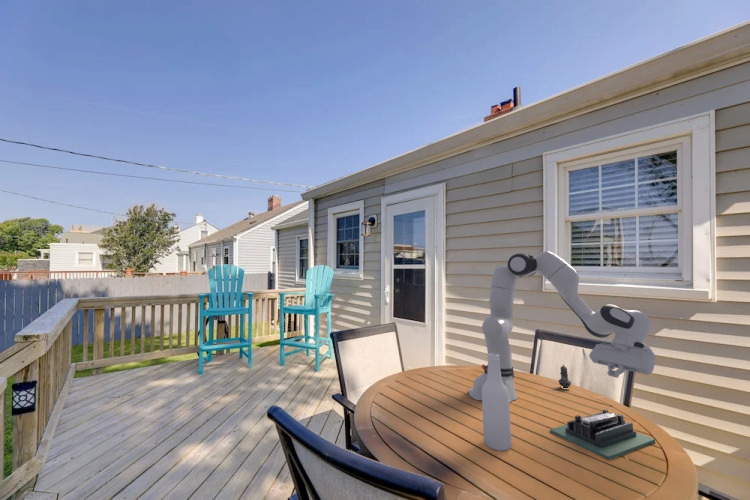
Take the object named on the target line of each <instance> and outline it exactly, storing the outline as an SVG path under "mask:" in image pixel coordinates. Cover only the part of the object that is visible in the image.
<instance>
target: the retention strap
mask: <svg viewBox="0 0 750 500" xmlns="http://www.w3.org/2000/svg"><path fill="white" fill-rule="evenodd" d="M617 415H618V414H615V413H612V412H609V411H608V413H605V414H600V415H596V416H591V417H586V416H585V417H586V418H582V417H581V418H582V419H581V421H582V422H584V423H587V424H589V425H590V421H594V422H596V423H599V422H603V421H607V420H612V419H616V418H617V419H618V416H617Z"/></svg>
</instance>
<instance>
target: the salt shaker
mask: <svg viewBox="0 0 750 500" xmlns="http://www.w3.org/2000/svg"><path fill="white" fill-rule="evenodd" d="M559 373H560V378H559V379H558V380H557V381H558V384H559V385H560V387H561V386H563V388H568V387H569V388H570V387H571V385H572V382H571V381H570V380H569V378H568V375H569V373H568V368H567V367H566V366H565V365H564V364H563V365H562V366H561V367H560V372H559Z"/></svg>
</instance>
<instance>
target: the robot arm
mask: <svg viewBox="0 0 750 500" xmlns="http://www.w3.org/2000/svg"><path fill="white" fill-rule="evenodd" d="M536 273H539V274H540V275H542V276H543V277H544V278H545V279H546V280H547V281H548V282H549V283H550V284H551V285H552V286H553V287H554V288H555V289H556V291H557V292H558V295H559V296H560V298H561V300H563V301H564V303H565V304H566V305H567V306H568V307H569V308H570V310H571V311H572V312H573V314H575V315H576V316H577V317H578V319H579V320H580V321H581V323H582V324H583V326H584V328H585V329H586V331H587V332H588V333H589V334H590V335H591V336H593V337H595V338H596V337H597V338H600V339H601V338H603V339H604V338H608V337H609V336H610V335H612V334H613V333H614V334H615V335H614V336H613V339H612V342H611V343H605V342H600V343H597V344H595V346H594V348H592V350H591V351H590V353H589V355H588V357H589V359H590V360H591V361H592V363H594V364H597V365H603V366H607V372H606V373H607V375H608V376H609V377H613V378H616V379H617V378H619V377H620V375H622V374H623V373H626V371H629V372H632V373H633V372H634V373H637V374H642V375H647V376H649V375H652V373H653V371H654V368H655V365H656V364H655V360H656V354H655V353H654V351H653V350H652V349H651V347H650V346H649V345H647V344H645V343H644V341H645V340H646V339H647V337H648V334H649V333H650V328H651V320H650V318H649V317H648V316H647V314H645V313H643V312H641V311H639V310H635V309H632V310H628V309H624V308H621V307H620V306H618V305H615V304H610V303H609V304H604V305H603V306H602V307H600V308H598V309H597V310H596V311H593V310H592V308H591V307H589V306H588V305H587V303H586V302H585V301H584V300H583V299H582V298H581V296H580V295H579V291H578V289H579V284H580V283H579V282H580V277H579V274H578V272H577V271H576V269H574V267H573V266H571V265H570V264H569V263H568V262H566V260H564V259H563V258H562V257H559V255H556V254H555V253H553V251H543V252H540V253H539V254H538V255H536V256H534V255H530V254H529V253H516V254H513V255H512V256H510V257H509V259H508V261H507V265H505V264H504V265H499V266H497V267H496V268H495V269H494V271H493V275H492V278H491V279H492V280H491V284H490V285H491V286H490V291H489V308H490V311H489V312H490V314H489V315H490V316H488V317H486V318H485V319H484V321H483V323H482V326H481V329H482V333H483V334H484V339H485V343H486V344H485V345H486V349H487V350H486V351H487V354H489V353H495V354H498V355H499V358H500V360H499V362H500V370H501V378H502V382H503V383H504V385H505V386H506V387H507V389H508V392H509V404H510V403H511V402H512V401H515V400H517V399H518V395H517V391H516V388H515V387H516V386H515V381H514V379H515V378H514V377H515V372H514V371H515V370H514V367H513V359H512V358H513V357H512V348H511V346H510V341H509V336H508V335H509V334H511V332H512V330H513V327H514V323H513V322H514V298H515V289H516V283H517V279H519V278H525V277H531V276H533V275H535V274H536ZM481 368H482V369H483V370H484V371H483V373H481V374H480V375H479V376H477V377H476V378H474V380H473V385H472V388H471V387H470V388H469V389H468V392H469V393H468V395H469V397H471V398H472V399H473V400H476V401H482V387H483V385H484V383H485V382H486V381H487V374H488V364H486V365H485V364H481ZM614 369H616V370H614Z"/></svg>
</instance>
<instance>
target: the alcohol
mask: <svg viewBox="0 0 750 500" xmlns="http://www.w3.org/2000/svg"><path fill="white" fill-rule="evenodd" d="M486 359H487V365H488V374H487V381H486V382H485V383H484V385H483V387H482V400H481V401H482V403H481V405H482V428H483V442H484V444H485V446H486V447H487V448H488V449H491V450H493V449H494V451H498V452H505V451H506V450H507V451H508V450H510V448H511V447H512V429H511V425H512V424H511V410H510V409H511V408H510V403H509V392H508V389H507V387H506V386H505V385H504V383H503V382H502V378H501V370H500V362H499V360H500V358H499V355H498V354H495V353H489V354H488V353H487V358H486Z"/></svg>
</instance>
